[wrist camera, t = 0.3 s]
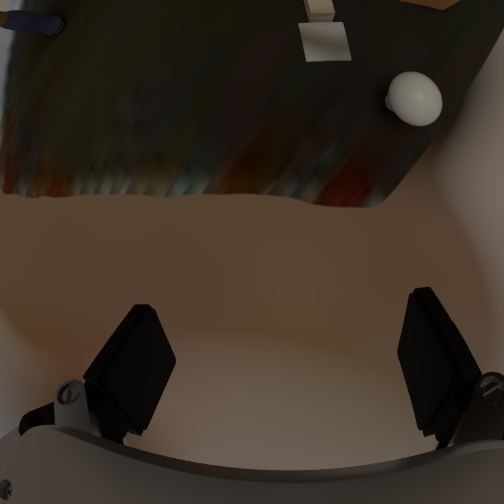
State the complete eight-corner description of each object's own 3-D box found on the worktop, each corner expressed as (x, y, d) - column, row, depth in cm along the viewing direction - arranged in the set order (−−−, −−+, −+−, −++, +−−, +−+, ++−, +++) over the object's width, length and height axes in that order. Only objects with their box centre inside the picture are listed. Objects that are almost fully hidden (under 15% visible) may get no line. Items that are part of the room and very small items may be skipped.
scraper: (284, -27, 22) (283, -40, 19) (326, -29, 21) (328, -41, 18) (306, 62, 29) (308, 55, 26) (350, 60, 28) (357, 53, 24)
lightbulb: (370, 121, 31) (401, 121, 21) (369, 77, 28) (398, 61, 19) (412, 127, 30) (452, 132, 21) (411, 84, 28) (450, 75, 18)
